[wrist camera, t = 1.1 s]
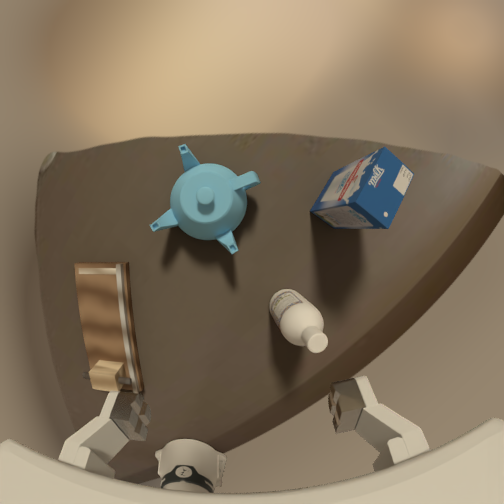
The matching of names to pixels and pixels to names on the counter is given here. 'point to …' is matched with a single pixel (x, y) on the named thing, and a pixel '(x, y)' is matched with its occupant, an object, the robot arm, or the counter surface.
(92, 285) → the walnut board
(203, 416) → the counter surface
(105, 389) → the wooden block with pegs
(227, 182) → the teapot
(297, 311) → the bath foam
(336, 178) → the milk carton
